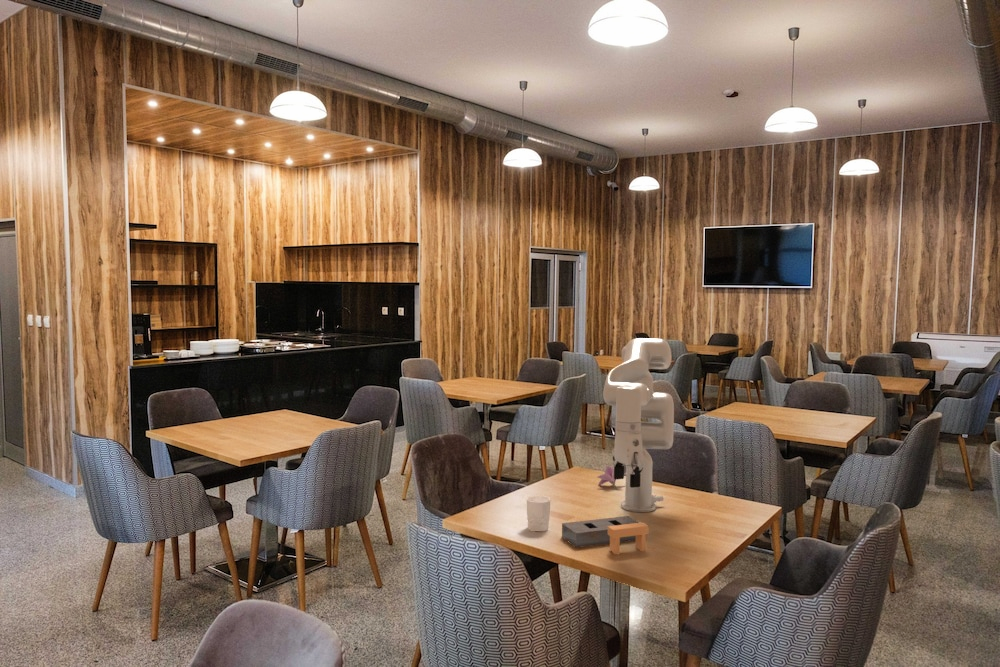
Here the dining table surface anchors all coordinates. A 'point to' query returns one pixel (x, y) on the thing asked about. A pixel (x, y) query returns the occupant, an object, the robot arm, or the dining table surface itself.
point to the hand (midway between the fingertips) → (626, 482)
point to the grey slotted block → (594, 531)
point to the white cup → (538, 513)
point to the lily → (608, 476)
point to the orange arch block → (628, 530)
